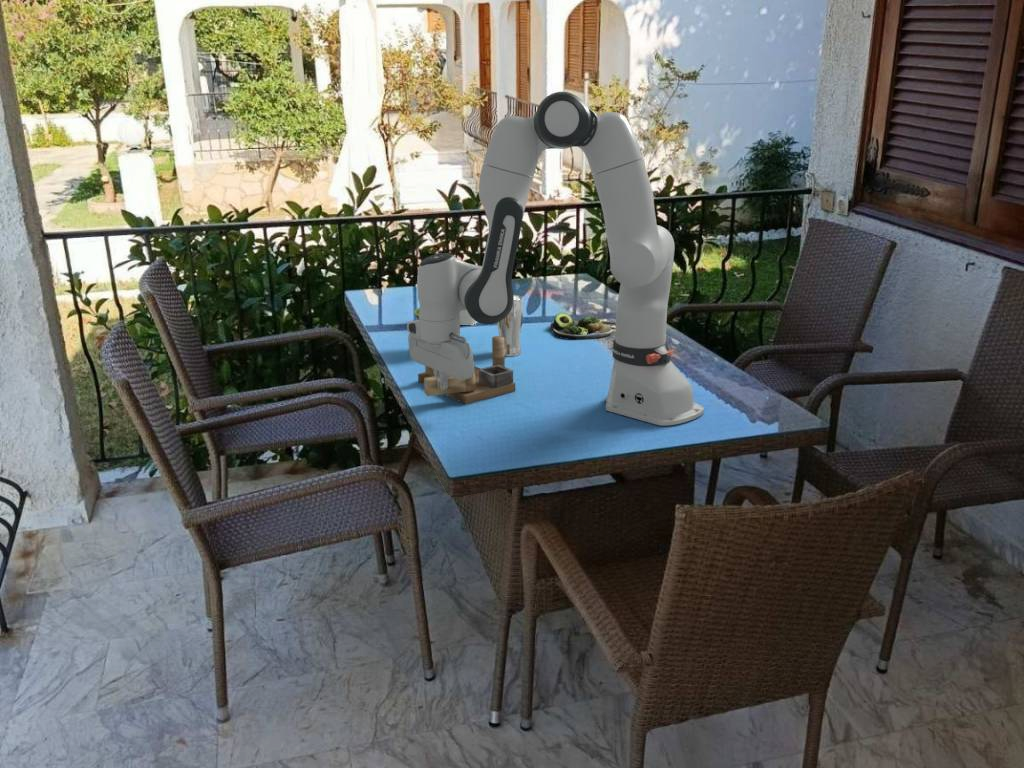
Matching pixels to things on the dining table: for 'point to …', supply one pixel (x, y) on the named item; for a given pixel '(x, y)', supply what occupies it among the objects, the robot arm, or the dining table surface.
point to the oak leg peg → (498, 351)
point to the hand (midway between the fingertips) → (442, 388)
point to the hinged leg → (453, 386)
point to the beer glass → (512, 328)
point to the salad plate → (579, 327)
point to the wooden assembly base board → (481, 383)
